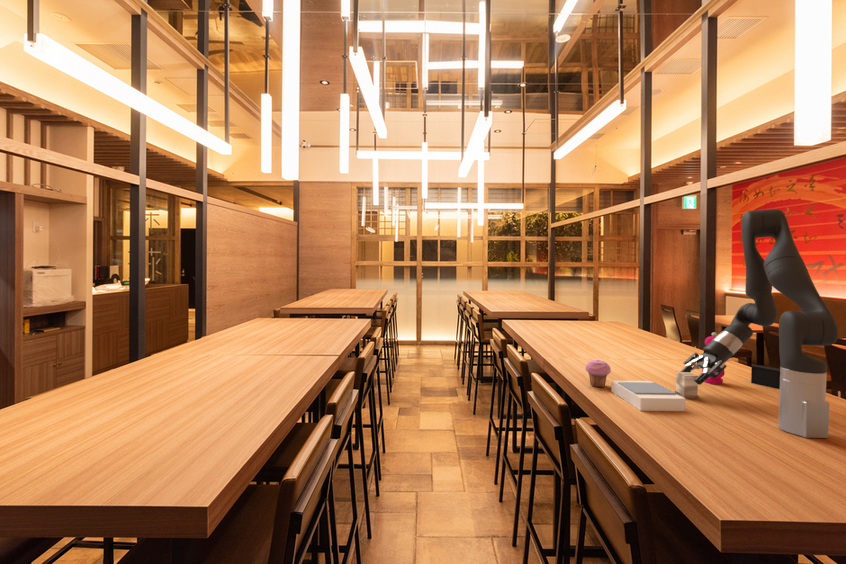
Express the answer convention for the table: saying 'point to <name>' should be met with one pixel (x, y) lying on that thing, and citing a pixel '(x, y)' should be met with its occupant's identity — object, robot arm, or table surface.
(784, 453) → the table surface
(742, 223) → the robot arm
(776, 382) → the digital camera
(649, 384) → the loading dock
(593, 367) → the cupcake
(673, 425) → the table surface
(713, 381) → the pepper mill
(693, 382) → the memo note cube
